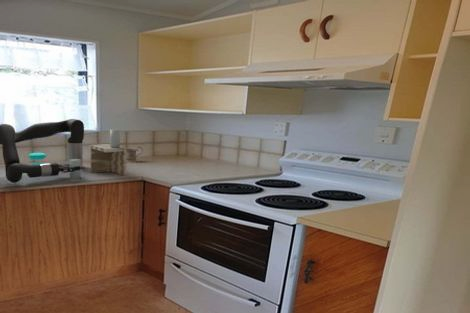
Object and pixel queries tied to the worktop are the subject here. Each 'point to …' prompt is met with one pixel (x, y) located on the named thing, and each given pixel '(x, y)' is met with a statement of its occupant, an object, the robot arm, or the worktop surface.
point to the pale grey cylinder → (115, 138)
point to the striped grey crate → (108, 159)
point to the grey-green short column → (76, 173)
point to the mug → (131, 155)
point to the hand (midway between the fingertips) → (77, 166)
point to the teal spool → (37, 157)
